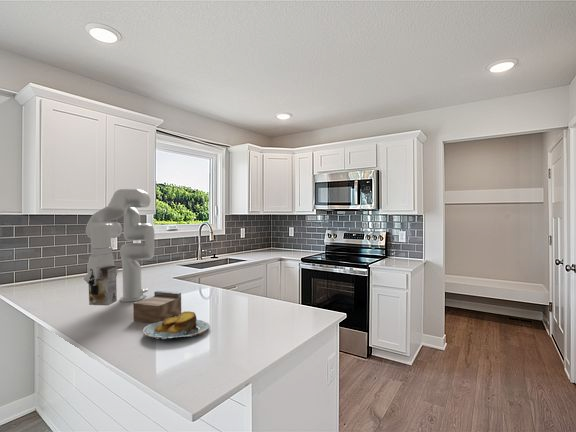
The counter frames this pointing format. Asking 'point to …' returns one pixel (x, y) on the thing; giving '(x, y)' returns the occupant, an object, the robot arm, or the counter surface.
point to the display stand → (157, 307)
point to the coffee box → (105, 288)
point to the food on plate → (176, 327)
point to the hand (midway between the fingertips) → (102, 291)
